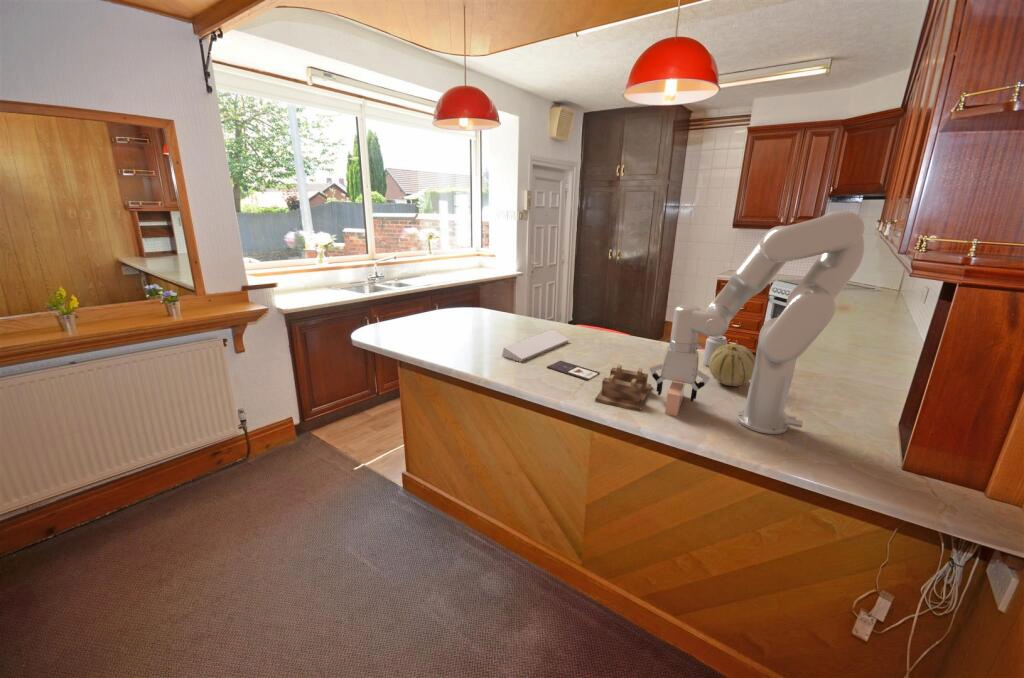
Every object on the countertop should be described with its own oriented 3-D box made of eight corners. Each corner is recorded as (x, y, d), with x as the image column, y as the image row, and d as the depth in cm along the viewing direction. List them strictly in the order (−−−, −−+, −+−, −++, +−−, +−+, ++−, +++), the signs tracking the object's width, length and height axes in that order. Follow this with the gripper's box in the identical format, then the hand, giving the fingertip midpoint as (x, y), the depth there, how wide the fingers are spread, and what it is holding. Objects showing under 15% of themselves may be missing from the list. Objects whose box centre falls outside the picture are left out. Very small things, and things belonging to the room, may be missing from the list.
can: (718, 370, 159) (723, 340, 156) (699, 364, 165) (703, 336, 161) (726, 365, 164) (731, 336, 160) (707, 360, 169) (712, 332, 166)
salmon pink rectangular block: (683, 396, 138) (686, 376, 136) (676, 416, 125) (680, 395, 122) (672, 393, 140) (674, 374, 137) (664, 414, 126) (667, 393, 124)
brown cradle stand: (651, 386, 144) (653, 366, 142) (639, 410, 128) (641, 388, 125) (611, 379, 151) (612, 359, 148) (595, 401, 134) (596, 379, 131)
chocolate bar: (560, 360, 167) (599, 372, 155) (560, 362, 167) (599, 374, 156) (546, 366, 160) (586, 379, 149) (546, 368, 161) (586, 381, 149)
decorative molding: (566, 348, 192) (549, 338, 197) (569, 339, 190) (552, 329, 195) (519, 369, 167) (501, 357, 173) (521, 359, 165) (503, 347, 170)
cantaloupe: (747, 378, 152) (755, 339, 147) (756, 395, 139) (765, 353, 134) (703, 373, 156) (710, 335, 151) (708, 389, 143) (715, 348, 138)
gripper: (714, 346, 125) (706, 398, 131) (655, 338, 133) (649, 387, 138) (713, 354, 119) (704, 407, 124) (651, 345, 127) (645, 395, 132)
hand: (675, 396), depth 131 cm, fingers open, 9 cm apart
